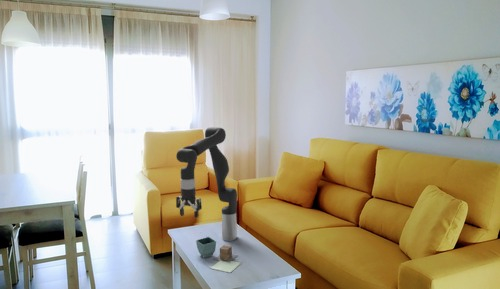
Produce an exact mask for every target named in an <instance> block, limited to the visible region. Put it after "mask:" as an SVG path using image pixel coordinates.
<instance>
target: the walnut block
mask: <svg viewBox="0 0 500 289" xmlns="http://www.w3.org/2000/svg"><path fill="white" fill-rule="evenodd" d="M232 249H233V247H232V245H226V244H223V245H222V246H221V247H219V255H220V258H221V259H226V260H228V259H229V258H230V257H232V254H233V250H232Z"/></svg>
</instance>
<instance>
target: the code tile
mask: <svg viewBox="0 0 500 289" xmlns="http://www.w3.org/2000/svg"><path fill="white" fill-rule="evenodd" d="M237 257H238V255H237V254H233V253H232V257H230V258H229V259H228V260H227V261H226V262H230V261H234V260H235V259H236V258H237ZM213 260H215V261H217V262H219V261H221V260H222V259H221V258H220V254H219V255H217V256H216V257H215V258H214V259H213ZM224 260H226V259H223V260H222V261H224Z"/></svg>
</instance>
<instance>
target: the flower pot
mask: <svg viewBox="0 0 500 289" xmlns="http://www.w3.org/2000/svg"><path fill="white" fill-rule="evenodd" d="M195 244H196V248H197V251H198V252H199V254H200V256H202V257H203V258H205V259H206V258H208V257H212V256H213V255H214V253H215V251H216V249H217V248H216V245H217V241H216V240H215V239H213V238H211V237H210V236H206V237H203V238H200V239H196V240H195Z"/></svg>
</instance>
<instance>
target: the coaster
mask: <svg viewBox="0 0 500 289" xmlns="http://www.w3.org/2000/svg"><path fill="white" fill-rule="evenodd" d="M222 260H223V259H222ZM222 260H221V261H217V263H215V264H214V265H213V266H211V267H210V269H211V270H216V271H220V272H223V273H224V272H225V273H228V274H231V273H232V272H233V271H234V270H235V269H237V268H238V267H239V266H240V265H241V264H242V263H241V262H239V261H238V262H237V261H234V260H232V261H230V262H226V261H227V260H224V261H222Z"/></svg>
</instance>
